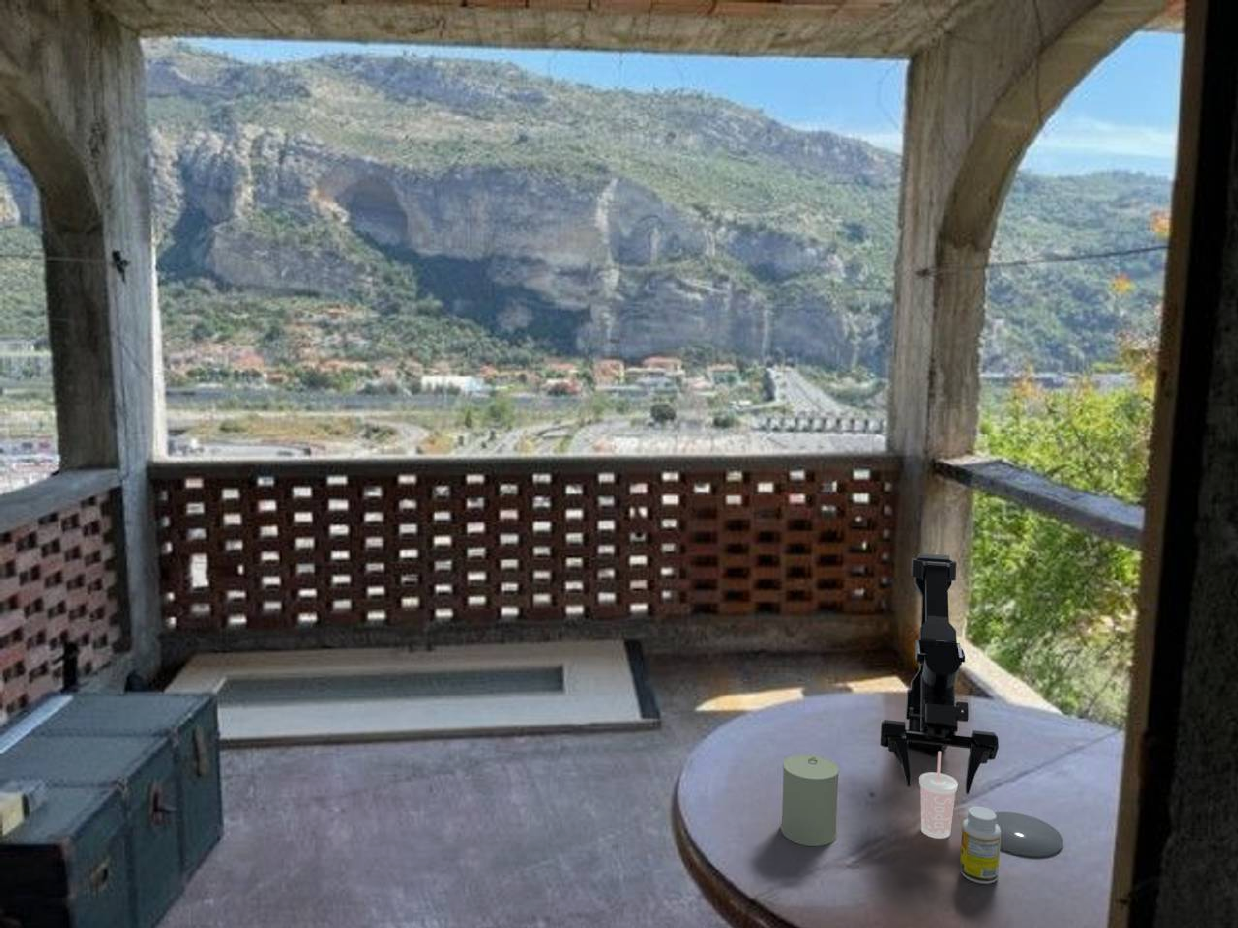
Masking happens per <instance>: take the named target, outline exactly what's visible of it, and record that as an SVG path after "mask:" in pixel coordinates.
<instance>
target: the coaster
mask: <svg viewBox="0 0 1238 928" xmlns="http://www.w3.org/2000/svg"><path fill="white" fill-rule="evenodd" d="M994 812H995V811H994ZM995 814H996V824H997V825H998V826H999V827H1000V829H1001V845H1000V851H1001V850H1002V851H1003V852H1007V853H1010V854H1011V855H1016V856H1022V857H1027V858H1045V857H1050V855H1051V856H1055V855H1057V854H1058V853H1060V851H1062V849H1063V845H1064V838H1063V836H1062V834H1061V833H1060V832H1059V830H1058V829H1056V828H1055V827H1053V825H1051V824H1050V823H1047V822H1046V821H1044V820H1041V819H1039V818H1037V817H1034V816H1031V815H1028V814H1023V813H1019V812H1013V811H997V812H995Z"/></svg>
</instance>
